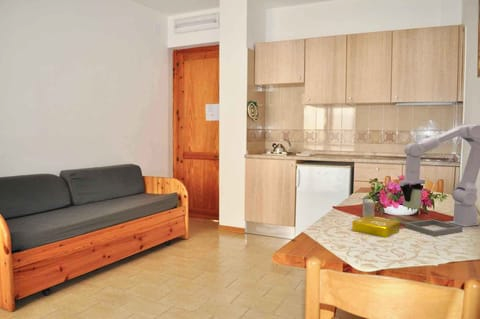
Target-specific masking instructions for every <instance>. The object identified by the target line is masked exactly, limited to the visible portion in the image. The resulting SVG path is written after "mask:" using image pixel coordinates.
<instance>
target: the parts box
mask: <svg viewBox="0 0 480 319" xmlns="http://www.w3.org/2000/svg"><path fill="white" fill-rule="evenodd" d="M422 190H423V189H422ZM422 190H418V189H413V190H412V192H411V199H410V202H407V201H405V198H404V194H403V193H402V195H403V196H402V207H405V208H409V209H412V210H416V209H421V203H422V202H421V201H422Z"/></svg>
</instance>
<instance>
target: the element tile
mask: <svg viewBox="0 0 480 319" xmlns="http://www.w3.org/2000/svg"><path fill="white" fill-rule="evenodd" d="M351 226H352V229H351V230H352V231H353V232H356V233H360V234H365V235H370V236H375V237H379V238H380V237H381V238H390V237H391V236H393V235H394V234H396V233H398V232H400V226H401V225H400V222H399V221H396V220H390V219H385V218H384V217H378V216H374V217H373V216H364V217H360V218H357V219H353V221H352V225H351Z"/></svg>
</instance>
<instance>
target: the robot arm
mask: <svg viewBox="0 0 480 319" xmlns="http://www.w3.org/2000/svg"><path fill="white" fill-rule="evenodd" d="M457 137H460V138H462V139H463V140H465V141H466V142H467V143H468V144H469V146H470V151H469V154H468V157H467V160H466V163H465V164H466V165H465V167H464V170H463V173H462V174H463V175H462V177H461V180H460V181H459V182H458V183H457V184H456V186H455V188H454V189H453V190H452V193H451V196H452V199H453V200H454V203H453V204H454V206H453V220H452V221H451V220H450V221H448V223H449V224H453V225H457V226H461V227H472V226H478V225H479V223H478V216H479V215H478V214H479V212H478V211H479V210H478V207H477V206H476V205H475V204H476V202H477V200H478V196H477V193H478V188H477V186H476V183H477V179H478V176H479V172H480V124H479V123H475V124H470V123H469V124H467V123H464V124H461V125H457V126H454V127H452V128H451V129H449V130H447V131H444V132H442V133H440V134H439V135H436V136H434V135H431V134H430V135H429V134H427V135H425V136H424V138H422V139H419V140H415V142H414V143H413V142H411V143H408V144H406V146H405V148H404V149H403V151H404V154H405V155H406V157H405V158H406V159H405V177H404V179H403V180H402V179H401V180H398V181H397V183H398V184H397V185H398V186H399V187H400V190H401V191H402V195H403V194H404V198H405V201H407V202H410V199H411V192H412V190H413V189H418V190H423V189H424V185H426V179H423V178H422V179H420V174H421V156H423V154H425V153H427V152H429V151H432V150H434V149H436V148H438V146H439V144H442V143H443V142H446V141H449V140H451V139H455V138H457Z"/></svg>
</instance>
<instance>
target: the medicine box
mask: <svg viewBox="0 0 480 319" xmlns="http://www.w3.org/2000/svg"><path fill="white" fill-rule="evenodd" d="M361 213H362V214H361V215H362V217H364V216H373V217H375V202H374V200H373V199H372V198H363V199H362V212H361ZM362 217H361V218H362Z"/></svg>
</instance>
